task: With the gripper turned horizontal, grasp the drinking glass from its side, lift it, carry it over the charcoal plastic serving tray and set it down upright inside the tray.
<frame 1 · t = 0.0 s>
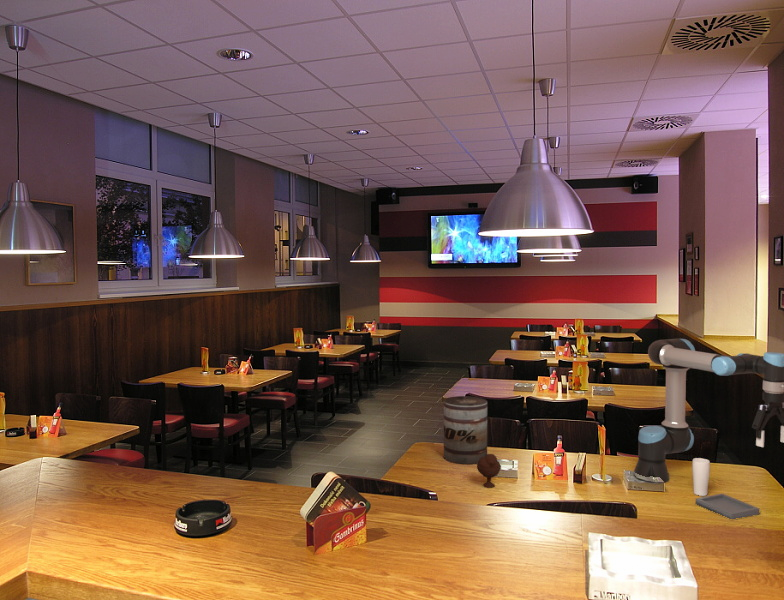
hand: (772, 444, 239), 28 cm above the table, tool pointing down, fingers open, 13 cm apart
ice cream bowl: (488, 486, 273), on the table
drinking glass: (700, 494, 261), on the table
serving tray: (726, 509, 245), on the table
barrel: (465, 458, 314), on the table
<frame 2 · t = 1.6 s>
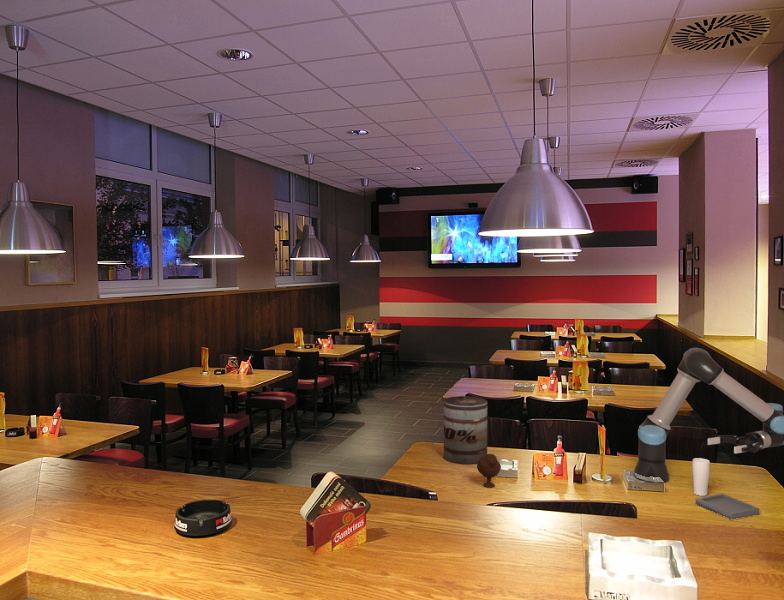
hand: (721, 445, 264), 20 cm above the table, tool horizontal, fingers open, 13 cm apart
nothing on the table moved.
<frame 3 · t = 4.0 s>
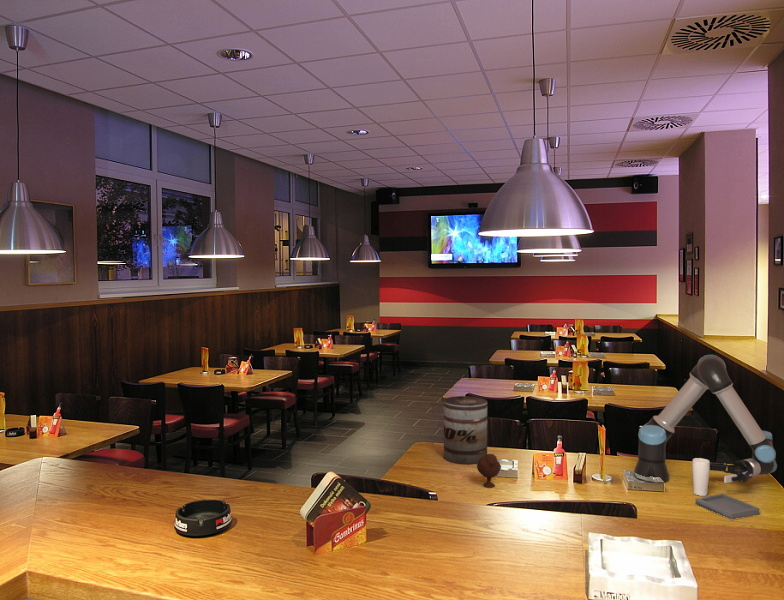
hand: (711, 474, 262), 8 cm above the table, tool horizontal, fingers open, 13 cm apart
nothing on the table moved.
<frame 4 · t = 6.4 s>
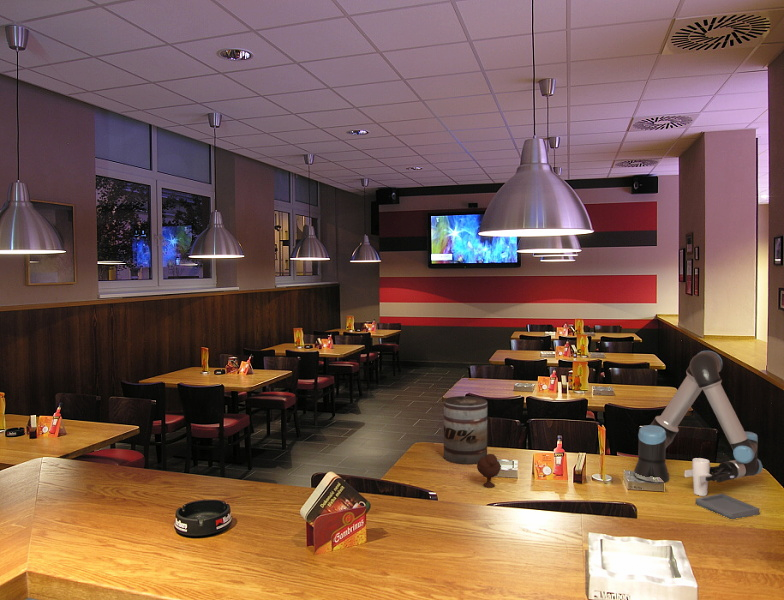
hand: (692, 476, 259), 9 cm above the table, tool horizontal, fingers closed on drinking glass, 6 cm apart
drinking glass: (700, 494, 261), on the table, touching gripper
everything else where it was.
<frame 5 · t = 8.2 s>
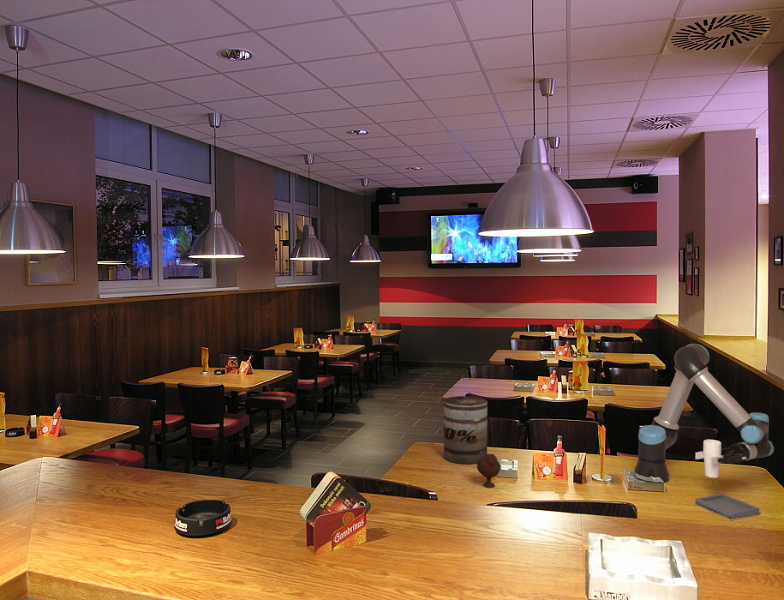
hand: (703, 458, 253), 18 cm above the table, tool horizontal, fingers closed on drinking glass, 6 cm apart
drinking glass: (711, 476, 255), point 10 cm above the table, touching gripper
everything else where it was.
when the fingers open (11 cm above the table, at t = 10.4 s): drinking glass drops 1 cm, resting on serving tray.
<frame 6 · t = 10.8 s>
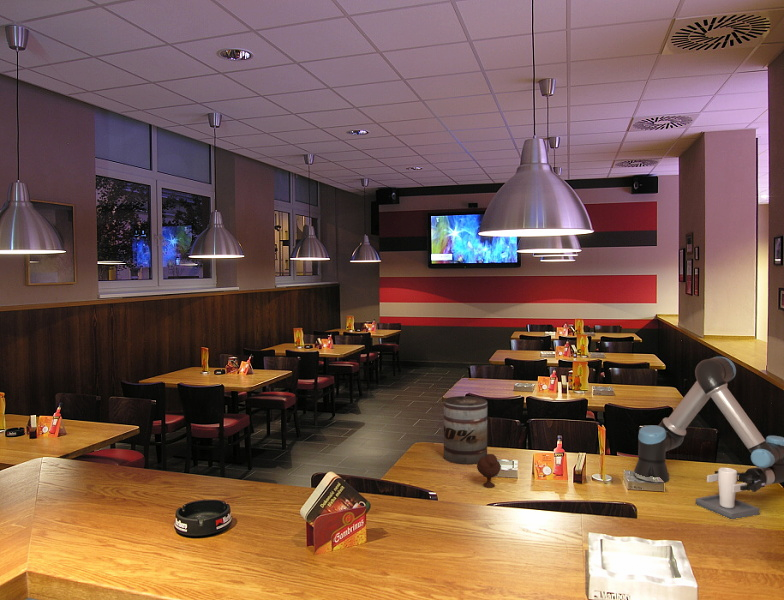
hand: (720, 483, 243), 11 cm above the table, tool horizontal, fingers open, 11 cm apart
drinking glass: (726, 506, 245), point 1 cm above the table, touching serving tray
everything else where it was.
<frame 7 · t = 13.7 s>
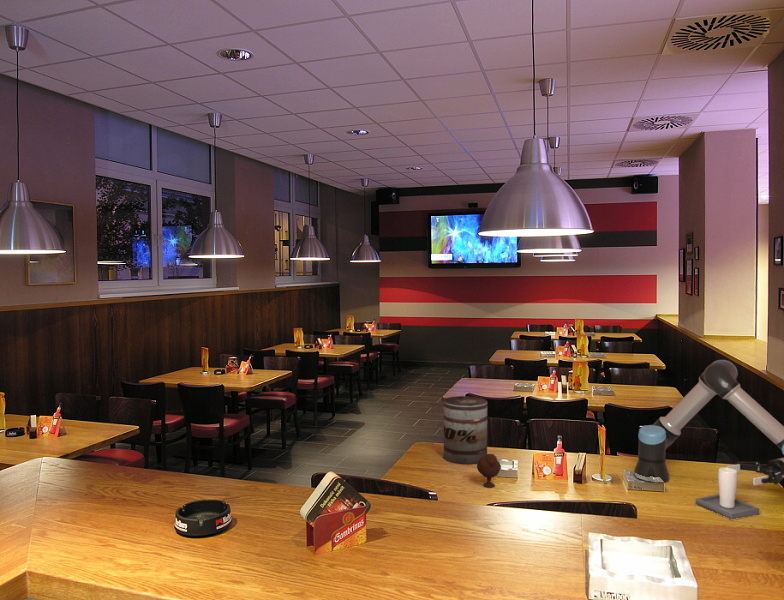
hand: (740, 475, 249), 12 cm above the table, tool horizontal, fingers open, 13 cm apart
nothing on the table moved.
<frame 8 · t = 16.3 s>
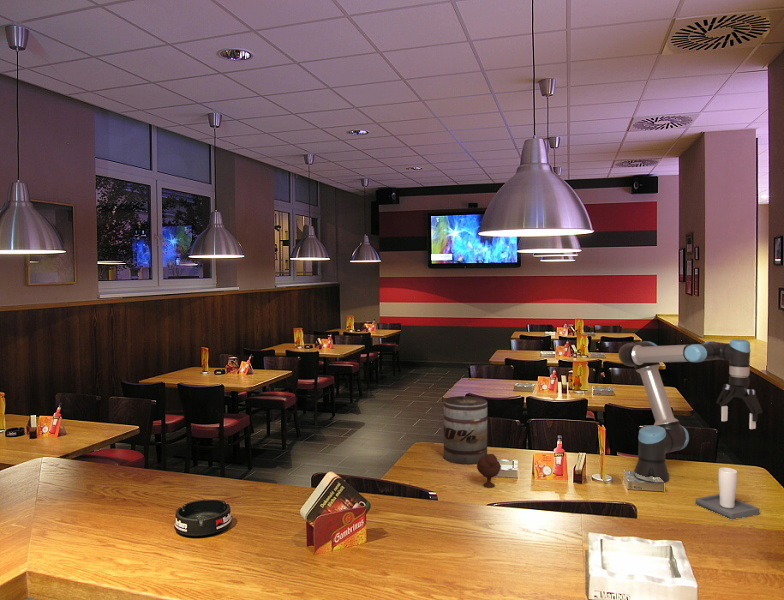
hand: (738, 424, 259), 31 cm above the table, tool pointing down, fingers open, 13 cm apart
nothing on the table moved.
at the end: drinking glass inside the target area on the serving tray (0.1 cm from its centre), point 1.0 cm above the serving tray's base; drinking glass tilted 0°; the gripper is holding nothing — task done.
